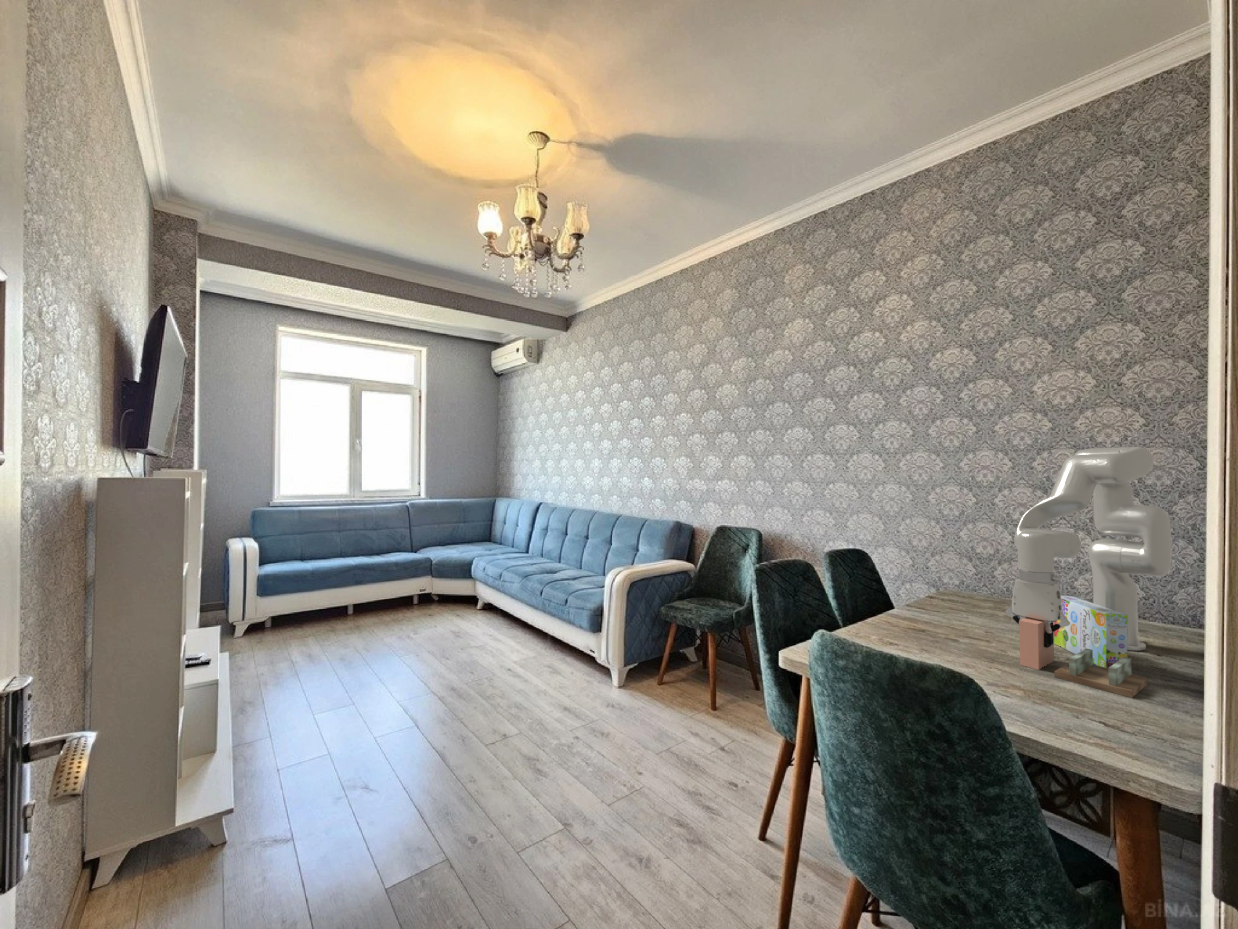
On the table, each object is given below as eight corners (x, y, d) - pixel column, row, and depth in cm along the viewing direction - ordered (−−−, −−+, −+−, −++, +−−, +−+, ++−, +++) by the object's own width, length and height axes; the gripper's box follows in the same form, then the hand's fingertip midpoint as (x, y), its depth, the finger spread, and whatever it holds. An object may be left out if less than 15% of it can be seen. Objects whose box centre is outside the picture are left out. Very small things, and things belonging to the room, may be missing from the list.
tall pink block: (1035, 656, 140) (1035, 614, 141) (1054, 661, 137) (1053, 617, 137) (1020, 664, 134) (1019, 620, 135) (1038, 669, 131) (1037, 624, 131)
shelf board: (1073, 665, 134) (1073, 645, 134) (1148, 684, 122) (1147, 661, 122) (1054, 677, 126) (1054, 655, 126) (1131, 697, 114) (1131, 673, 115)
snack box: (1130, 672, 129) (1129, 614, 130) (1105, 670, 130) (1104, 613, 131) (1073, 645, 150) (1072, 595, 150) (1052, 643, 151) (1051, 594, 152)
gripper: (1080, 581, 131) (1082, 650, 131) (1005, 570, 145) (1006, 633, 145) (1070, 584, 127) (1072, 656, 127) (994, 573, 141) (995, 638, 141)
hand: (1036, 643), depth 136 cm, fingers closed on tall pink block, 4 cm apart
